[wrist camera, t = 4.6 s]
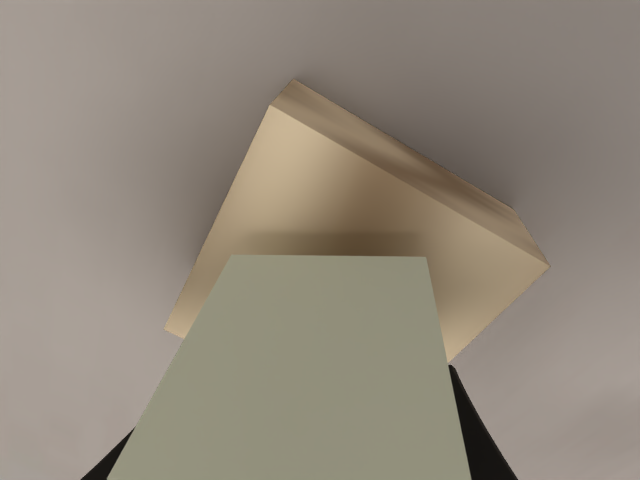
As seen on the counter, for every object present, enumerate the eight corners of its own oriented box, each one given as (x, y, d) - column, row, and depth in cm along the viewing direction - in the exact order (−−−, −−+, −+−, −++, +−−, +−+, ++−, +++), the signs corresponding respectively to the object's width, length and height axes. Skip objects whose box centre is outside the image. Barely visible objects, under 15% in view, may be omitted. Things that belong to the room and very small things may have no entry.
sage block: (426, 256, 10) (477, 509, 5) (414, 395, 13) (442, 661, 8) (231, 254, 11) (107, 479, 6) (255, 387, 14) (183, 627, 8)
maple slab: (510, 205, 15) (550, 266, 12) (377, 352, 20) (378, 428, 16) (295, 76, 14) (269, 104, 11) (202, 266, 18) (163, 329, 15)
